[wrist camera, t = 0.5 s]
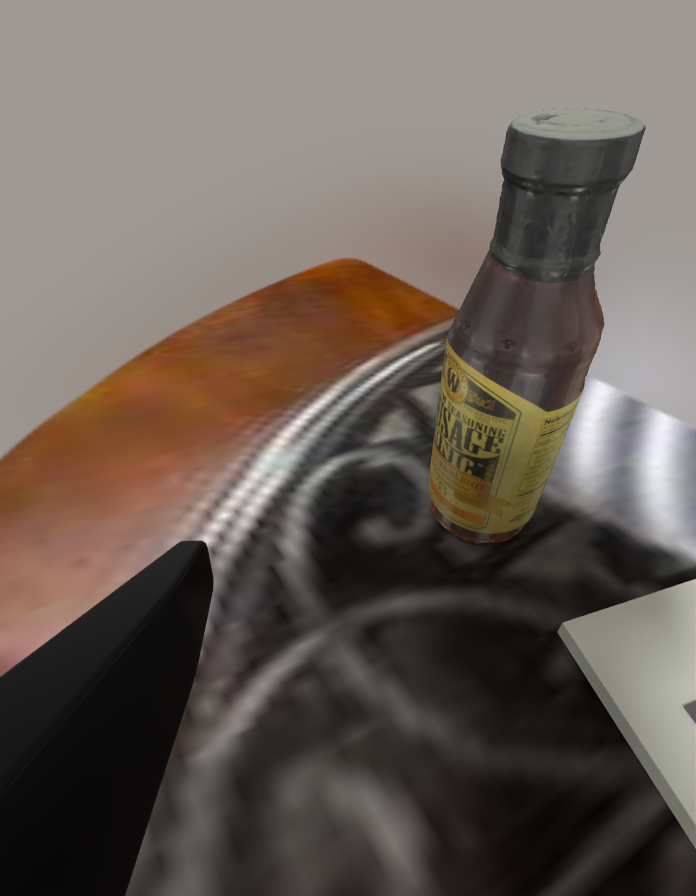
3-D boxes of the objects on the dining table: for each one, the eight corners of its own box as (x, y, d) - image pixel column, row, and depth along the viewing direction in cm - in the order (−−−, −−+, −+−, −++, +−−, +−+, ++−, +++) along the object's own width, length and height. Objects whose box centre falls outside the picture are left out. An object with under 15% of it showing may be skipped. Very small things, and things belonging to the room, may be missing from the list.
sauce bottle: (410, 487, 30) (428, 113, 17) (495, 461, 31) (577, 93, 18) (460, 570, 26) (542, 148, 12) (557, 536, 27) (732, 118, 13)
